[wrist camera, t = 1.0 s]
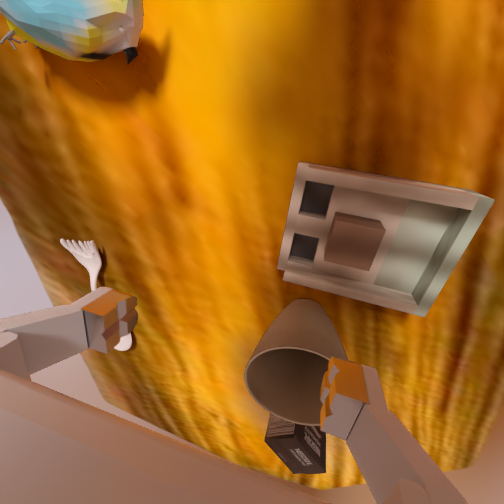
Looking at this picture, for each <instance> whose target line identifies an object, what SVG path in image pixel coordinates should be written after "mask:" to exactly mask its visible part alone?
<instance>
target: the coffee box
mask: <svg viewBox="0 0 504 504" xmlns="http://www.w3.org/2000/svg"><path fill="white" fill-rule="evenodd" d="M265 442H266V443H267V445H268V446H269V447H270V448H271V449H272V450H273V451H274V452H275V453H276V455H277V456H278V457H279V458H280V459H281V460H282V461H283V462H284V464H285V465H286V466H287V467H288V468H289V469H290V470H291V471H292V472H293V474H298V473H304V474H317V473H318V474H319V473H326V432H323V431H320V426H308V425H301V424H296V423H292V422H289V421H286V420H284V419H281V418H279V417H277V416H275V415H273V414H271V413H270V417H269V422H268V427H267V431H266V436H265Z"/></svg>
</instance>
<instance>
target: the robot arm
mask: <svg viewBox="0 0 504 504" xmlns="http://www.w3.org/2000/svg"><path fill="white" fill-rule="evenodd" d="M136 306H137V298H136V297H135V296H133V295H130V294H127V293H124V292H121V291H118V290H114V289H111V288H108V287H99V288H98V289H96V290H94V291H92V292H91V293H89V294H87V295H86V296H84V297H82V298H80V299H79V300H77V301H75V302H74V303H72V304H70V305H61V306H56V307H52V308H48V309H43V310H38V311H34V312H29V313H25V314H20V315H16V316H11V317H7V318H2V319H0V504H331V503H328V502H325V501H323V500H321V499H318V498H316V497H314V496H311V495H309V494H306V493H304V492H301V491H299V490H296V489H294V488H292V487H289V486H287V485H284V484H282V483H279V482H277V481H275V480H271V479H269V478H267V477H265V476H262V475H260V474H257V473H255V472H252V471H250V470H248V469H245V468H243V467H240V466H238V465H235V464H233V463H230V462H228V461H226V460H223V459H221V458H218V457H216V456H213V455H211V454H208V453H206V452H204V451H201V450H199V449H196V448H194V447H191V446H188V445H186V444H184V443H181V442H179V441H177V440H174V439H172V438H169V437H167V436H164V435H162V434H159V433H157V432H155V431H152V430H150V429H147V428H145V427H142V426H140V425H137V424H135V423H133V422H130V421H128V420H125V419H123V418H120V417H118V416H115V415H113V414H110V413H108V412H105V411H103V410H101V409H98V408H96V407H93V406H91V405H89V404H86V403H84V402H81V401H79V400H76V399H74V398H71V397H69V396H67V395H64V394H62V393H59V392H57V391H54V390H52V389H49V388H47V387H45V386H42V385H40V384H37V383H35V382H32V381H31V378H30V374H33V373H35V372H37V371H40V370H42V369H44V368H46V367H48V366H51V365H53V364H55V363H57V362H60V361H62V360H64V359H67V358H69V357H71V356H73V355H76V354H78V353H80V352H82V351H85V350H87V349H88V348H91V349H94V350H97V351H100V352H103V353H106V354H107V353H109V352H110V351H111V350H112V349H113V348H114V347H115V346H116V345H117V344H118V343H120V338H121V337H123V336H126V335H128V334H129V333H130V332H131V331H132V330H133V329H134V327H135V325H136V324H137V320H138V313H137V311H136V310H135V307H136ZM320 400H321V402H322V403H323V406H322V408H321V411H320V431H323V432H326V433H328V434H331V435H333V436H336V437H338V438H341V439H343V440H346V443H347V445H348V447H349V449H350V451H351V453H352V455H353V457H354V459H355V461H356V463H357V465H358V467H359V469H360V471H361V473H362V475H363V477H364V479H365V481H366V483H367V485H368V486H369V488H370V491H371V492H372V495H373V497H374V499H375V500H376V502H377V504H468V503H467V501H466V499H465V498H464V497H463V496H462V494H461V493H460V492H459V491H458V490H457V488H456V487H455V486H454V485H453V484H452V483H451V481H450V480H449V479H448V478H447V477H446V475H445V474H444V473H443V472H442V471H441V469H440V468H439V467H438V466H437V465H436V463H435V462H434V461H433V460H432V459H431V457H430V456H429V455H428V454H427V453H426V451H425V450H424V449H423V448H422V447H421V446H420V444H419V443H418V442H417V441H416V440H415V438H414V437H413V436H412V435H411V434H410V432H409V431H408V430H407V429H406V428H405V426H404V425H403V424H402V423H401V422H400V420H399V419H398V418H397V417H396V416H395V414H394V413H392V412H390V411H388V409H387V405H386V401H385V398H384V394H383V390H382V387H381V383H380V379H379V376H378V372H377V370H376V369H375V368H372V367H369V366H365V365H362V364H357V363H354V362H351V361H347V360H344V359H341V358H337V357H334V356H331V358H330V360H329V363H328V371H327V372H325V374H324V377H323V380H322V385H321V393H320Z"/></svg>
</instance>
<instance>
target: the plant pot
mask: <svg viewBox="0 0 504 504" xmlns="http://www.w3.org/2000/svg"><path fill="white" fill-rule="evenodd" d="M331 356H334V357H337V358H341V359H344V360H347V361H348V358H347V355H346V353H345V350H344V347H343V345H342V343H341V340H340V338H339V336H338V333H337V331H336V329H335V327H334V325H333V323H332V322H331V320H330V318H329V316H328V315H327V313H326V312H325V310H324V309H323V307H322V306H321V305H320V304H319V303H317V302H315V301H313V300H311V299H305V298H303V299H297V300H294V301H292V302H291V303H290V304H289V305H288V306H286V307H285V308H284V309H283V310H282V312H281V313H280V314H279V315H278V316H277V317H276V318H275V320H274V321H273V322H272V324H271V325H270V326H269V328H268V329H267V331H266V332H265V334H264V335H263V337H262V338H261V340H260V342H259V343H258V345H257V347H256V349H255V351H254V353H253V354H252V356H251V358H250V360H249V362H248V364H247V366H246V369H245V373H244V379H245V384H246V387H247V389H248V391H249V393H250V394H251V396H252V397H253V398H254V400H255V401H256V402H257V403H258V404H259V405H260V406H262V407H263V408H264V409H265V410H267V411H268V412H270V413H271V414H273V415H275V416H277V417H279V418H281V419H284V420H286V421H289V422H292V423H296V424H301V425H308V426H320V411H321V408H322V406H323V403H322V402H321V400H320V393H321V385H322V380H323V377H324V374H325V372H327V371H328V363H329V360H330V358H331Z"/></svg>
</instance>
